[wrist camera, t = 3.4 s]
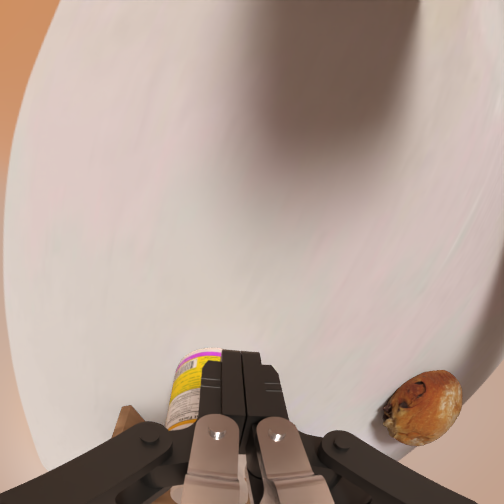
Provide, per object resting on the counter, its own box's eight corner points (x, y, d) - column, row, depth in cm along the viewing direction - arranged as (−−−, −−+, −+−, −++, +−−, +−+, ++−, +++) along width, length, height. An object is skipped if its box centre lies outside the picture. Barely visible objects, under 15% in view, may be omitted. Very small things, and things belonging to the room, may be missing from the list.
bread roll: (398, 409, 35) (433, 445, 29) (358, 428, 29) (400, 474, 23) (440, 354, 32) (482, 390, 26) (411, 363, 26) (464, 411, 20)
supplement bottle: (249, 399, 27) (260, 517, 15) (180, 396, 26) (163, 513, 14) (253, 344, 25) (269, 477, 13) (174, 341, 24) (143, 471, 12)
